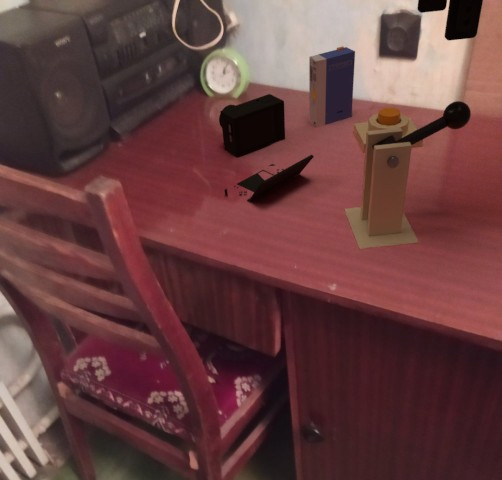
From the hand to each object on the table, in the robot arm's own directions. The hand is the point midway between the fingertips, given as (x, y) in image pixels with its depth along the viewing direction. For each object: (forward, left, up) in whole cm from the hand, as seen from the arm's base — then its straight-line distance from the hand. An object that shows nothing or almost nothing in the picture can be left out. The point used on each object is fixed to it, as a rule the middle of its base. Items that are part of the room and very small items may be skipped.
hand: (444, 23), depth 64 cm
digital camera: (+20, -30, -26) cm, 45 cm away
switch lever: (0, +1, -14) cm, 14 cm away
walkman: (+5, -36, -26) cm, 45 cm away
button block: (-3, -26, -26) cm, 37 cm away
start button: (-3, -26, -23) cm, 35 cm away
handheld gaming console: (+19, -13, -26) cm, 35 cm away
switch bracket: (+5, +1, -26) cm, 27 cm away
